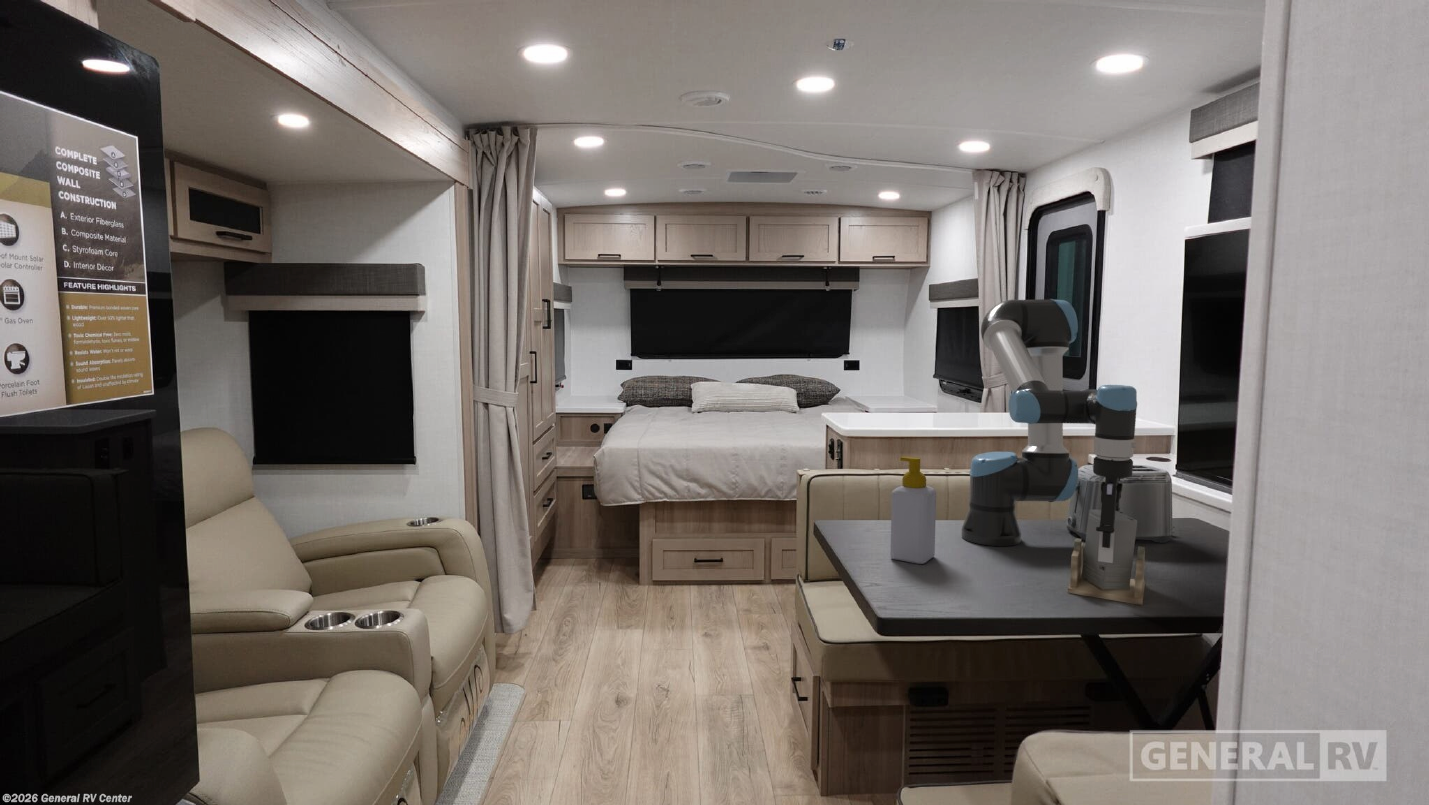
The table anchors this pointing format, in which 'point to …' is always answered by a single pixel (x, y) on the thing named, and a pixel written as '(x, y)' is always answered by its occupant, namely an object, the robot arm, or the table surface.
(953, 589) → the table surface
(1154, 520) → the toaster
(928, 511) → the soap bottle
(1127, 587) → the skincare box
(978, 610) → the table surface
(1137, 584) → the holder
